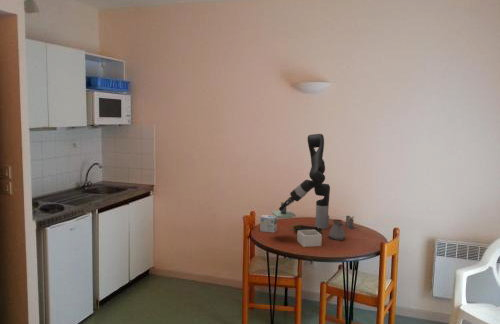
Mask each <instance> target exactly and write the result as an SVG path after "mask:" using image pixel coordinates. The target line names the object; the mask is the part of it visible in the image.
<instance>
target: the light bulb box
mask: <svg viewBox="0 0 500 324" xmlns="http://www.w3.org/2000/svg"><path fill="white" fill-rule="evenodd" d="M277 219H278V218H277V217H276V216H275V215H266V214H263V215H261V216H260V221H259V222H260V224H259V225H260V227H259V228H260V229H259V230H260V231H259V232H264V233H273V234H274V233H275V232H277V228H278V227H277V223H278V222H277V221H278V220H277Z"/></svg>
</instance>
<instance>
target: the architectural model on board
mask: <svg viewBox="0 0 500 324" xmlns="http://www.w3.org/2000/svg"><path fill="white" fill-rule="evenodd" d="M354 218H355V216H354V215H353V216H352V217H351V216H350V215H346V217H345V226H346V225H347V226H346V227H347V228H348V229H349V230H354V223H355V222H354Z"/></svg>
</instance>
